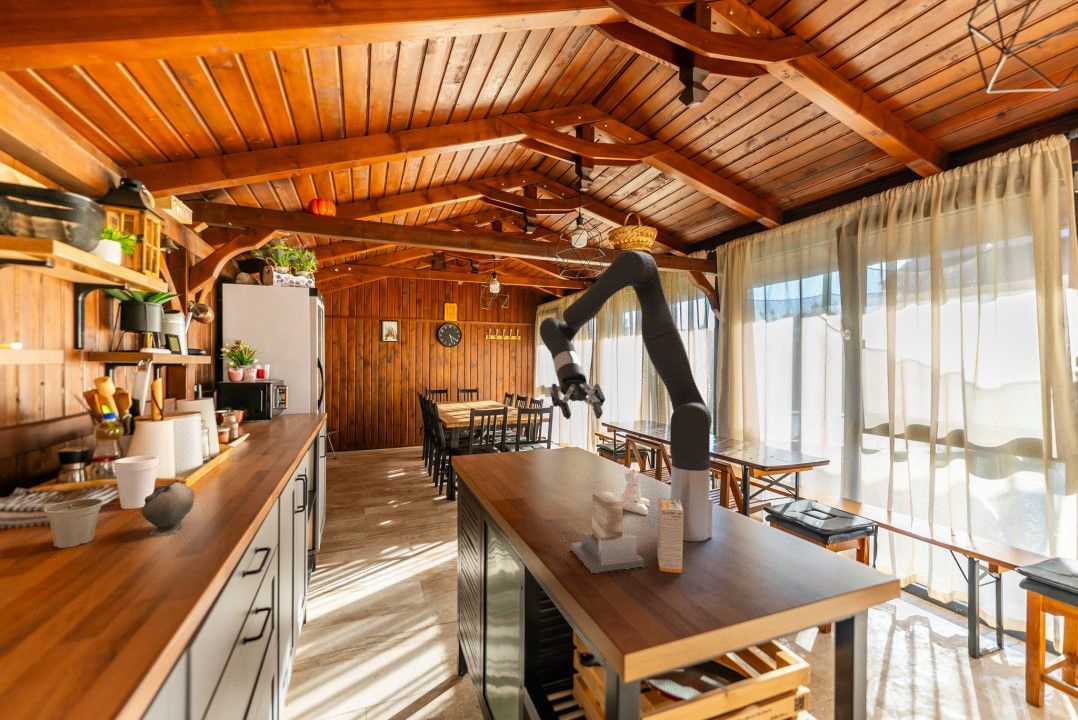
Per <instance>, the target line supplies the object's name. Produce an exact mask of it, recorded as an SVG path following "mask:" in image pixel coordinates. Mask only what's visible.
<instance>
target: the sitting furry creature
mask: <svg viewBox="0 0 1078 720" xmlns="http://www.w3.org/2000/svg"><path fill="white" fill-rule="evenodd" d="M624 478H625V480H626V482H627V484H626V485H625V487H624V490H623V493H622V494H621V495H620V497H619V499H621V500H622V501H623V510H625V511H628V512H632V513H636V514H639V515H643V516H646V515H648V514H649V508H648V507H650V500H649V499H647V498H645V497H642V495H641V489H640V485H639V484H640V482H641V480H640V474H639V473H637V470H636V468H635V467H631V468H628V469H627V470H625V472H624Z"/></svg>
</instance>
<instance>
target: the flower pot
mask: <svg viewBox="0 0 1078 720" xmlns="http://www.w3.org/2000/svg"><path fill="white" fill-rule="evenodd" d="M102 504H104V499H102V498H91V497H90V498H81V499H80V498H79V499H74V500H73V499H72V500H67V501H62V502H58V503H55V504H54V503H53V504H51V505H48V506H46V507H45V508H44V509H43V512H44V513H46V517H47V518H48V520H49V525H50V529H51V530H50V531H51V535H52V536H51V537H52V541H53V546H54V548H55V547H57V548H59V549H67V548H72V547H73V548H74V547H77V546H80V545H82V544H88V543H89V542H91V541H92V540H94V538H95V530H96V527H97V526H96V525H97V522H98V517H99V511H100V509H101V508H102Z"/></svg>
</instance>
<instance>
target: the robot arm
mask: <svg viewBox="0 0 1078 720" xmlns="http://www.w3.org/2000/svg"><path fill="white" fill-rule="evenodd" d="M628 287H632V288H633V290H634V292H635V295H636V296H637V297H636V298H637V299H638V303H639V306H640V311H641V320H640V321H641V323H640V324H641V325H640V326H641V337H642V341H643V344H644V346H645V349H646V352H647V356H648V357H649V359H650V362H651V364H652V365H653V367H654V369H655V371H656V373H657V375H658V376H659V378H660V379H661V381H662V382H663V384H664V386H665V388H666V390H667V392H668V396H669V399H670V403H671V406H672V407H671V408H672V411H673V412H672V415H671V417H670V423H669V424H670V425H669V427H670V428H669V429H670V430H669V431H670V432H669V433H670V435H669V442H670V444H669V448H670V450H669V451H670V452H669V453H670V458H671V459H670V460H671V463H670V464H671V465H670V466H671V467H670V499H679V500H680V502H681V505H682V508H683V541H687V542H703V541H706V540H708V539H709V538H712V537H713V516H714V515H713V514H714V513H713V509H714V508H713V507H714V504H713V503H714V500H713V498H712V497H710V492H711V491H710V490H711V489H710V486H711V485H710V483H711V482H710V479H711V478H710V477H711V475H710V474H711V473H710V472H711V456H710V453H711V452H710V441H711V439H710V438H711V437H710V435H711V434H710V433H711V426H712V421H713V420H712V415H711V412H710V410H709V409H708V407H707V404H706V402H705V401H704V398H703V397H702V394H701V393H700V390H699V387H697V384H696V381H695V378H694V376H693V372H692V368H691V364H690V361H689V360H690V359H689V357H688V354H687V350H686V348H685V345H684V341H683V339H682V335H681V333H680V331H679V328H678V326H677V323H676V321H675V318H674V315H673V312H672V311H671V310H672V309H671V308H670V306H669V303H668V301H667V298H666V295H665V293H664V289H663V284H662V281H661V276H660V273H659V269H658V266H657V263H656V260H655V259H654V257H653V256H652V255H650V254H649V253H647V252H644V251H640V250H639V251H638V250H633V249H631V250H630V249H629V250H624V251H623V252H621V253H620V254H619V255H618V256H617V257H616V258H614V260H613V261H612V262H611V264H609V265H608V267H607V268H606V270H604V272H603V273H602V274H601V275H600V276H599V278H598V279H597V280H596V281H595V282H594V283H593V284H592V285H591V286H590V287H589V288H588V289H587V290H586V291H585V292H584V293H583V294H581V296H579V297H578V298H577V299H576V300H574V301H573V302H572V303H571V304H570V305H568V306H567V307H566V308H565V310H564V311H563V313H562V318H563V320H564V321H561V320H559V319H557V318H555V317H550V316H549V317H547V318H544V319H543V320H542V321H541V324H540V326H539V336H540V338H541V340H542V342H543V343H544V346H545V347H546V348H547V350H548V351H549V352H550V354H551V358H552V361H553V366H554V367H553V368H554V372H555V374H556V377H557V380H558V384H559V385H557V384H556V383H552V384H551V387H550V389H549V391H550V399H551V402H552V405H553V407H555V408H556V407H560V409H561V412H562V416H563V417H564V418H565V419H566V420H570V418H571V416H572V413H571V409H570V406H569V403H568V402H569V400H570V401H571V402H584V403H585V404H587V405H590V406H591V407H592V408H593V409H592V410H593V412H594V415H595V417H596V419H601V417H602V415H603V413H604V412H603V409H602V407H603V405H604V403H605V401H606V398H605V395H604V393H603V390H602V388H601V387H600V384H598V383H595V385H589V384H588V381H587V377H586V373H585V371H584V369H583V366H582V363H581V361H580V359H579V357H578V354H577V352H576V349H575V347H574V344H573V343H572V341H573V340H574V338H575V336H576V335H577V333H578V332H579V331H580V329H581V328H582V327H583V326H584V325H585V324H586V323H589V322H590V321H591V320H592V319H593V318H594V317H596V316H597V315H598V313H600V312H601V310H602V308H603V307H604V306H605V304H606V303H607V301H608V300H609V299H610V298H611V297H613V296H614V295H615V294H616V293H617V292H619V291H621V290H623V289H625V288H628ZM559 393H561V394H562V395H563V398H562V399H561V398H560V394H559ZM587 396H588V397H587Z"/></svg>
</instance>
